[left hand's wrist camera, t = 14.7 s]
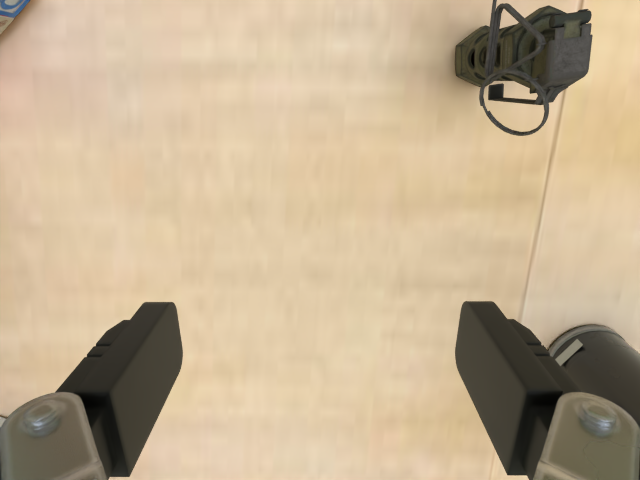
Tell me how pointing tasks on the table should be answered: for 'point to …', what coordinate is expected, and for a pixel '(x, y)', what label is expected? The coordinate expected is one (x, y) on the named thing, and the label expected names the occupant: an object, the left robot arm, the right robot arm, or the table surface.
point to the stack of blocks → (10, 11)
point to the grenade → (527, 55)
